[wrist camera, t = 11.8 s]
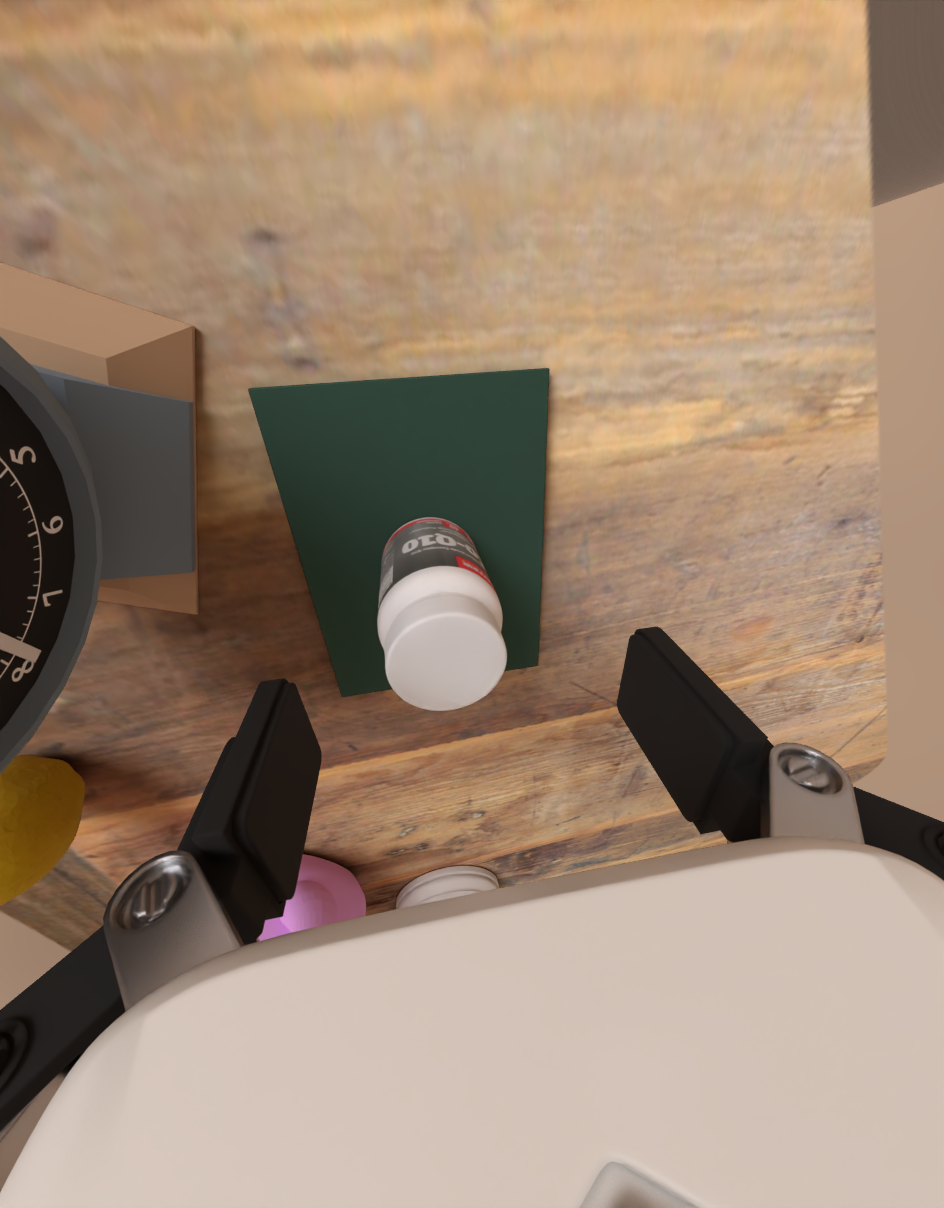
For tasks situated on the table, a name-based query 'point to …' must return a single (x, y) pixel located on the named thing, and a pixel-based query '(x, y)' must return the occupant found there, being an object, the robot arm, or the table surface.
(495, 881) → the chess piece
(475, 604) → the pill bottle
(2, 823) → the apple
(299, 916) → the teapot
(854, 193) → the table surface
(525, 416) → the mat
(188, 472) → the alarm clock
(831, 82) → the table surface
